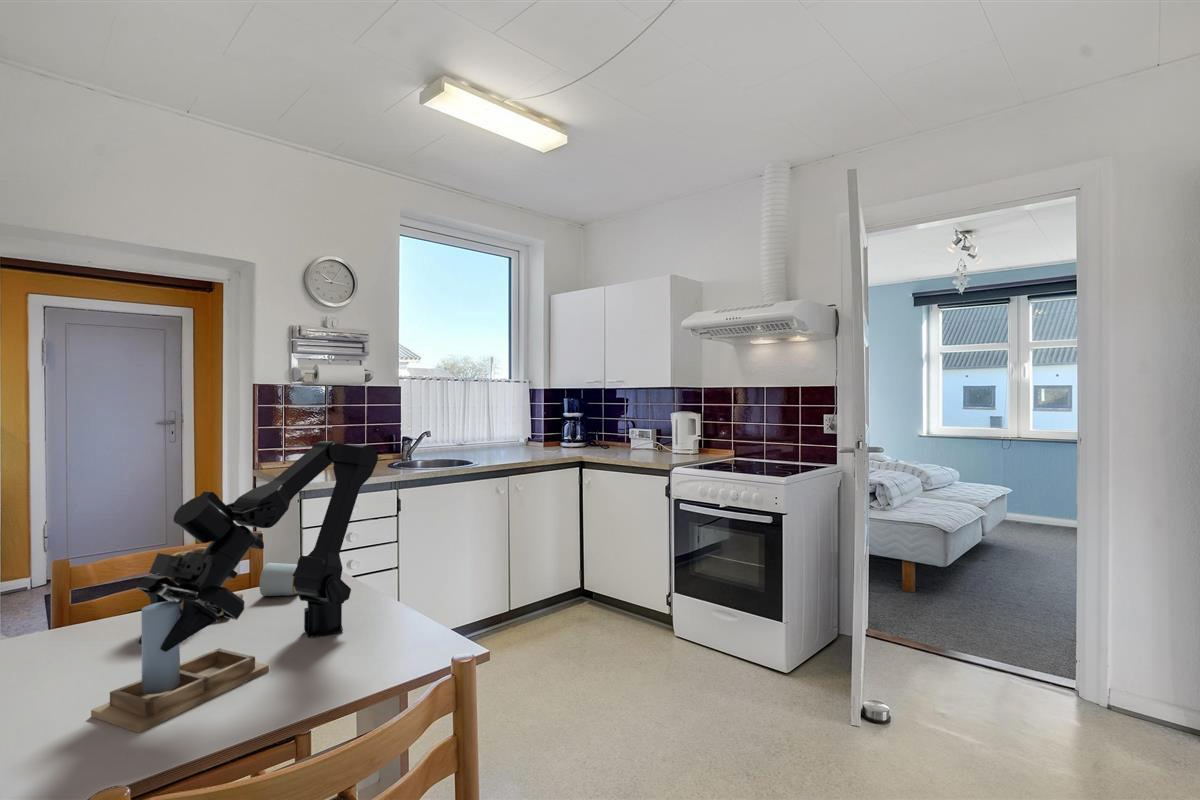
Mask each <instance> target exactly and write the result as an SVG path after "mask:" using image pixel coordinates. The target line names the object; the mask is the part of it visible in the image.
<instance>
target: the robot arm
mask: <svg viewBox="0 0 1200 800" xmlns="http://www.w3.org/2000/svg"><path fill="white" fill-rule="evenodd" d="M378 460H379V456H378V454H377V450H376V449H375V447H374V446H372V445H371V444H359V443H358V444H357V443H345V444H343V443H340V442H339V443H338V442H337V441H327V440H325V441H324V440H322V441H321V440H319V441H317V442H315V443H314V444H313V445H312V446H311V448H310V449H309V450H308V451H307V452H305V453H304V454H302V456H300V458H298V459H297V460H296V461H294V462H293V463H292V464H291V465H290V466H288V467H287V468H286V469H284V470H283V472H281V473H280V474H279V475H277V476H276V477H275V478H274V479H273V480H271V481H270V482H268V483H265V484H262V485H259V486H257V487H254V488H253V489H250V490H249V491H247V492H245V493H244V494H241V496H239V497H237V498H236V499H235V500H234V502H230V503H227V504H226V503H224V502H223V501H222V500H221V499H220V498H219V496H218V495H217V494H216V493H215V492H214V491H209V490H208V491H207V490H204V491H203V492H202V493H200V495H198V496H195V497H193V498H191V499H190V500H188V501H186V502H185V503H184V504H181V505H180V506H179V507H178V508H177V510H176V511H175V513H174V515H173V522H174V523H175V524H176V525H177V526H178V527H180V528H181V529H182V530H183V531H185V532H186V533H187V534H189V535H190V537H192V538H194V539H195V540H196V541H197V542H199V543H201V544H207V543H209V544H208V545H207V546H206V547H207V548H206V549H205V550H204V551H203V553H202V554H200V553H191V552H188V553H186V554H185V555H184V556H183V557H178V556H173V554H166V553H160V552H158V553H157V554H156V556H155V558H154V560H153V562H152V564H151V567H150V569H149V570H148V574H150V575H146V576H145V577H143V578H142V580H141V581H140V582H139V584H137V586H136V589H138V590H139V591H141V592H143V593H144V594H146V596H147V597H148V598H149V601H150V605H151V604H155V603H160V602H167V601H176V602H179V603H181V602H182V601H183V610H182V609H180V615H181V614H182V615H181V616H180V618H179V619H178V621H177V622H176V624H175V625H174V627H173V628H172V630H171V631H170V633H169V634H168V636H167V637H166V639H165V640H164V642H163V644H162V646H161V647H160V649H161V650H162V651H165V652H167V651H168V650H170V649H172V648H173V647H175V646H176V645H178V644H179V643H180V644H181V643H182V642H184V641H186V640H187V639H188V638H190V637H192V636H193V635H195V634H196V633H199V632H200V631H201V630H203V629H205V628H206V627H208V626H210V625H212V624H213V623H215V622H221V620H222V617H221V616H219V614H220V613H221V612H222V610H223V617H224V618H226V619H232V620H236V621H237V620H238V619H239V618H240V616H241V615H242V613H244V611H245V600H243V599H241V598H239V597H238V596H237V595H235V593H234V592H233V591H231V590H230V589H229V588H228V587H225V586H224V584H225V582H226V581H227V580H228V579H232V580H235V578H236V577H237V575H239V573H238V572H237V571H235V570H236V568H237V567H238V565H239V564H240V562H241V561H242V560H243V558H244V557H245V556H246V555H247V553H248V551H249V550H250V549H258V550H263V549H264V548H265V542H264V541H263V533H261V532H253V531H252V530H250V529H249V527H252V528H260V529H270V528H273V527H274V526H275V525H277V524H278V522H279V521H280V520H281V519H282V518H283V517H284V515H285V514H286V513H287V512H288V510H289V509H290V505H291V501H292V500H293V499H294V498H295V497H296V495H297V494H299V493H300V492H301V491H302V490H303V489H304V488H306V487H307V486H308V485H309V484H310V483H312V481H313V480H314V479H316V477H319V475H320V474H321V473H323V471H325V470H326V469H327V468H328V467H329V466H331V464H333V465H332V467H333V468H332V469H333V473H334V479H335V485H334V487H333V491H332V493H331V497H330V499H329V503H328V506H327V508H326V513H325V515H324V518H323V521H322V524H321V526H320V530H319V533H318V536H317V539H316V541H315V542H316V543H315V544H314V545H315V546H314V548H313V549H312V550H311V551H310V553H309V554H308V555H307V556H306V555H300V557H299V558H298V560H297V568H296V570H295V572H294V574H293V575H292V576H294V582H293V586H295V589H296V591H297V592H298V594H297V595H298V597H299V600H300V601H302V602H307V605H306V606H307V607H304V610H303V631H304V633H306V636H307V638H315V637H321V636H322V637H323V636H327V634H328V635H333V633H334V634H339V633H338V632H340V633H343V632H344V629H343V625H342V623H343V619H342V617H343V614H342V613H343V610H342V609H343V608H342V607H343V604H344V603H345V602H346V601H348V600H349V599H350V595H351V591H352V588H351V587H350V586H349V585H347V583H346V582H344V580H342V574H343V564H342V561H341V560H342V559H341V556H340V553H341V549H342V547H343V543H344V540H345V537H346V534H347V531H348V527H349V524H350V521H351V519H352V518H351V517H352V514H353V511H354V508H355V504H356V502H357V498H358V496H359V495H358V494H359V492H360V489H361V487H362V485H364V484H365V483H366V482H367V481H368V480H369V479H370V478H371V477H372V475H373V473H374V470H375V468H376V466H377V464H378ZM234 521H235V522H236V523H235V522H234ZM237 524H238V525H237ZM157 574H159V575H157ZM164 576H167V577H171V578H170V579H171V580H170V579H169V578H167V577H164ZM176 583H178V584H179V585H177V584H176ZM223 586H224V587H223ZM186 594H188V595H186ZM196 596H197V597H196ZM342 631H343V632H342ZM138 645H139V646H142V633H141V635H140V637H139V640H138Z"/></svg>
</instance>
